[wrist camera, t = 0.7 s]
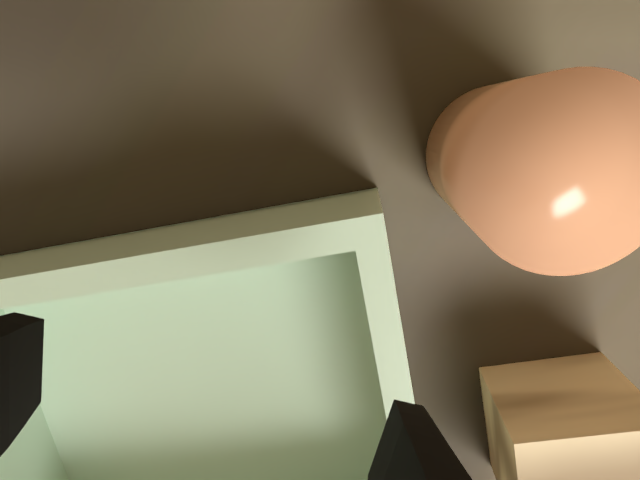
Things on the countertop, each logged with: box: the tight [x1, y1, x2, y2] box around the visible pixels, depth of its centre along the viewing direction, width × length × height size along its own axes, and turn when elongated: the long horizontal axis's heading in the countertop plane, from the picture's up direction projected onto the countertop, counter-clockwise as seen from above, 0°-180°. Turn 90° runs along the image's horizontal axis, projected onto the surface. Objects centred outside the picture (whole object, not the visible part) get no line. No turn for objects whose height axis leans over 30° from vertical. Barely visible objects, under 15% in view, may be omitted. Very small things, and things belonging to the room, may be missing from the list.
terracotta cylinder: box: [426, 67, 640, 276], centre depth 15 cm, size 5×5×7 cm
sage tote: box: [0, 188, 415, 480], centre depth 19 cm, size 14×18×5 cm
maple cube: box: [479, 352, 640, 480], centre depth 18 cm, size 5×5×5 cm
